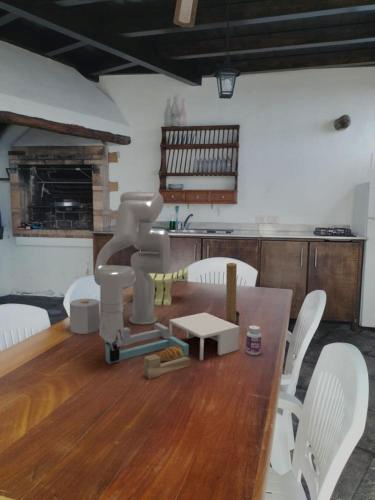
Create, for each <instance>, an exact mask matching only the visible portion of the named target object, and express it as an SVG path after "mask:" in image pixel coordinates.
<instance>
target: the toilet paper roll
mask: <svg viewBox="0 0 375 500" xmlns="http://www.w3.org/2000/svg"><path fill="white" fill-rule="evenodd" d="M99 325H100V303H99V300H98V299H93V298H79V299H75V300H72V301H70V302H69V327H70V332H71V333H73V334H78V335H79V334H80V335H85V334H92V333H95V332H98V331H99Z"/></svg>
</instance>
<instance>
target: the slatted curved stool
mask: <svg viewBox="0 0 375 500" xmlns="http://www.w3.org/2000/svg"><path fill="white" fill-rule="evenodd" d="M188 270H189V269H188V267H185V268H184V269H180V270H179V271H174V272H170V273H169V272H168V273H165V274H154V273H149V274H150V276H151V277H152V279H153V281H154V306H155V305H158V306H161V305H163V306H171V303H172V300H173V298H172V295H171V289H172V288H171V287H172V285H173V283H175V282H176V281H185V282H188V281H189V280H188V277H189V276H188V274H189V271H188Z"/></svg>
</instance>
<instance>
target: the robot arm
mask: <svg viewBox="0 0 375 500" xmlns="http://www.w3.org/2000/svg"><path fill="white" fill-rule="evenodd" d="M119 199H120V203H119V205H118V208H117V215H116V219H115V220H116V221H115V225H114V226H115V227H114V231H113V236H112V238H111V239H110V240H109V241H107V242H106V243H105V244H104V245H103V247H102V248H101V249H100V250H99V252H98V254H97V257H96V261H95V267H94V274H93V278H94V279H93V280H94V282H95V283H96V285H97V286H100V287H99V291H100V293H99V295H100V296H99V298H100V299H99V300H100V303H99V311H100V312H99V319H100V324H99V330H98V331H99V337H101V338H102V339H103V340H104V345H105V344H107V343H110V344H111V350H110V361H111V362H114V361H118V360H119V349H120V350H121V347H123V346H122V341H123V339H124V315H123V312H124V289H127V288H130V287H132V308H131V310H130V311H131V312H132V315H131V316H130V317H129V322H130V323H131V324H134V325H138V326H141V325H142V326H146V325H147V326H148V325H151V324H153V325H154V324H155V323H158V317H157V316H156V315H155V305H154V301H155V300H154V281H153V279H152V277H151V276H150V274H149V273H154V274H156V275H157V274H164V275H166V274H169V271H170V270H171V244H170V243H171V239H170V235H169V232H168V231H167V230H166V229H163V228H153V227H152V224H153V223H155V222H156V220H158V218H159V216H160V214H161V213H162V210H163V208H164V197H163V196H162V194H161V193H160V192H155V191H154V192H152V191H148V192H147V191H126V192H123V193H122V194H121V195H120V197H119ZM132 246H133V247H134V248H135V249H136V250H140V251H136V252H134V253H133V254H131V257H130V265H118V264H117V265H115V264H108V260H109V259H110V258H111V257H112V256H113V255H114V254H116V253H117V252H120V251H121V250H124V249H126V248H129V247H132ZM114 343H117V344H115V345H114ZM104 350H105V351H104V352H105V354H104V355H105V356H104V357H105V358H106V346H104ZM118 362H119V361H118Z"/></svg>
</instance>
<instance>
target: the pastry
mask: <svg viewBox="0 0 375 500" xmlns="http://www.w3.org/2000/svg"><path fill="white" fill-rule="evenodd" d="M156 355H157V356H159V357H160V362H162V363H166V362H169V361H173V360H176V359H180V358H183V357H184V353H183V351H182V348H181V347H180V346H176V345H175V346H174V347H167V348H165V349H162V350H161V351H160V352H159V353H157V354H156Z"/></svg>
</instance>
